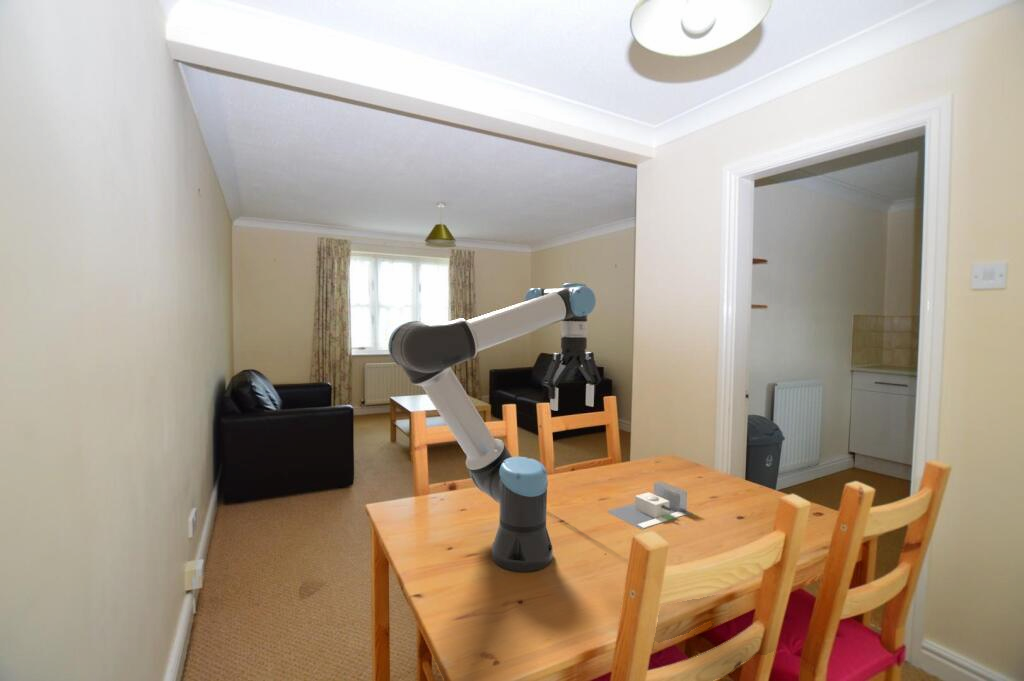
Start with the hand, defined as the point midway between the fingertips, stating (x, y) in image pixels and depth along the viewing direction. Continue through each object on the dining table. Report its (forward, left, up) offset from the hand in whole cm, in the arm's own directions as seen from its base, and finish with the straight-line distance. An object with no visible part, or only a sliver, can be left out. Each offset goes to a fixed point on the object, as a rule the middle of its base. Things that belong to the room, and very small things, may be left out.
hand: (572, 407), depth 138 cm
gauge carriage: (+22, -13, -32) cm, 41 cm away
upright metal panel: (+30, -12, -31) cm, 45 cm away
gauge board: (+21, -12, -33) cm, 41 cm away
